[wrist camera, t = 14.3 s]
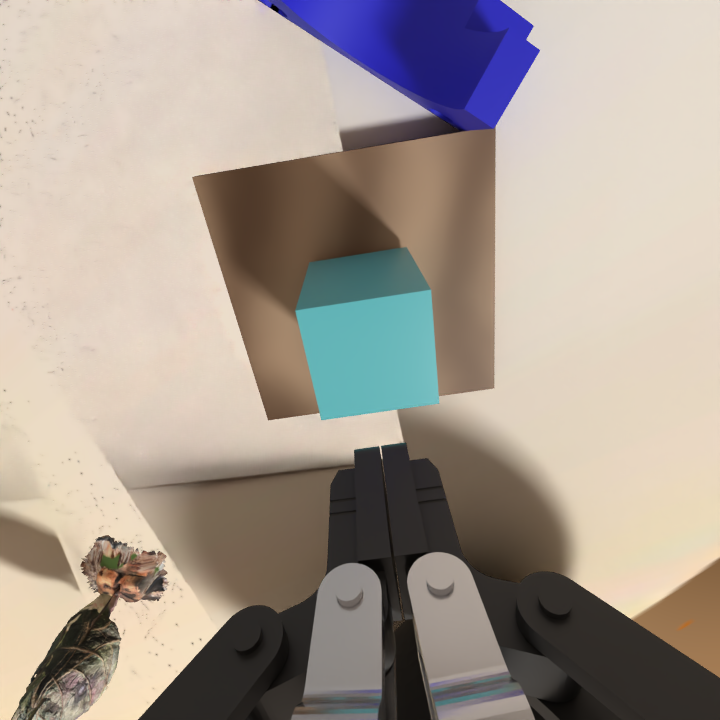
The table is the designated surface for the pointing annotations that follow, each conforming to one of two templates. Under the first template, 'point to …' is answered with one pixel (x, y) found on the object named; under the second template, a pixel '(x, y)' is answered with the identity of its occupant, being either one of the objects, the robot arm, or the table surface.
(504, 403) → the table surface
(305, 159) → the walnut board
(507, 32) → the cable clip
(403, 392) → the aqua box
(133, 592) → the plant with pod
